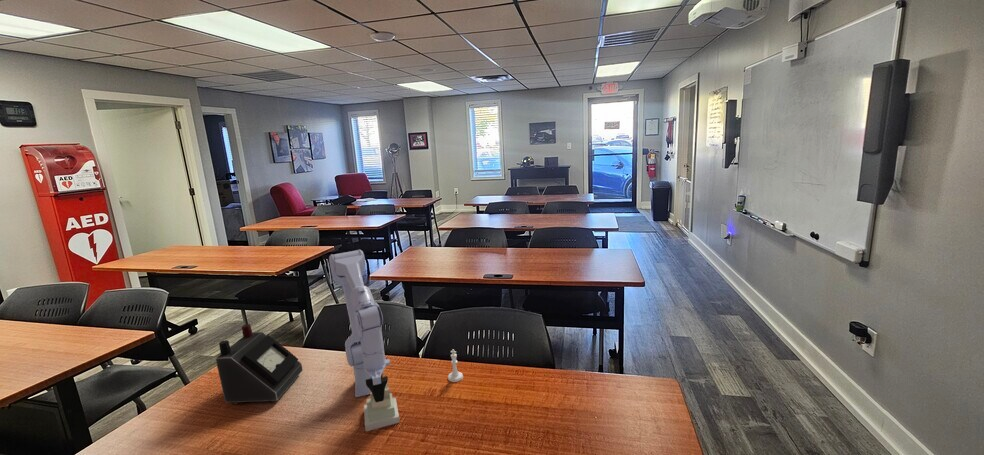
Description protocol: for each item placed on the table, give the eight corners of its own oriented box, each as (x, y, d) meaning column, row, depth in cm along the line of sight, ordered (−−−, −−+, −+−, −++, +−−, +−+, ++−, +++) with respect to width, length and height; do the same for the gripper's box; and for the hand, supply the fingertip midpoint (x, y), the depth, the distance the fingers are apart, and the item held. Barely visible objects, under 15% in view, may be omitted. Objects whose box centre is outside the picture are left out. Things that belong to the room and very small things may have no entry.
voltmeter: (279, 404, 122) (267, 344, 118) (226, 406, 122) (212, 346, 118) (304, 374, 138) (294, 320, 133) (257, 375, 138) (246, 322, 134)
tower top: (367, 406, 115) (366, 399, 115) (392, 400, 117) (391, 392, 117) (369, 422, 109) (367, 414, 108) (395, 415, 111) (394, 407, 110)
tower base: (365, 412, 117) (363, 405, 116) (396, 404, 119) (395, 397, 119) (366, 433, 108) (364, 425, 108) (399, 424, 111) (399, 416, 110)
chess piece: (460, 382, 127) (458, 354, 125) (446, 381, 128) (443, 353, 126) (464, 373, 132) (462, 346, 130) (450, 372, 133) (448, 345, 131)
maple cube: (371, 399, 114) (369, 384, 113) (389, 395, 116) (387, 379, 115) (372, 410, 110) (370, 394, 109) (391, 405, 111) (389, 389, 110)
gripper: (390, 359, 104) (396, 405, 106) (385, 334, 117) (390, 376, 120) (361, 365, 101) (368, 412, 104) (360, 339, 115) (366, 381, 118)
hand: (378, 393), depth 112 cm, fingers open, 6 cm apart
